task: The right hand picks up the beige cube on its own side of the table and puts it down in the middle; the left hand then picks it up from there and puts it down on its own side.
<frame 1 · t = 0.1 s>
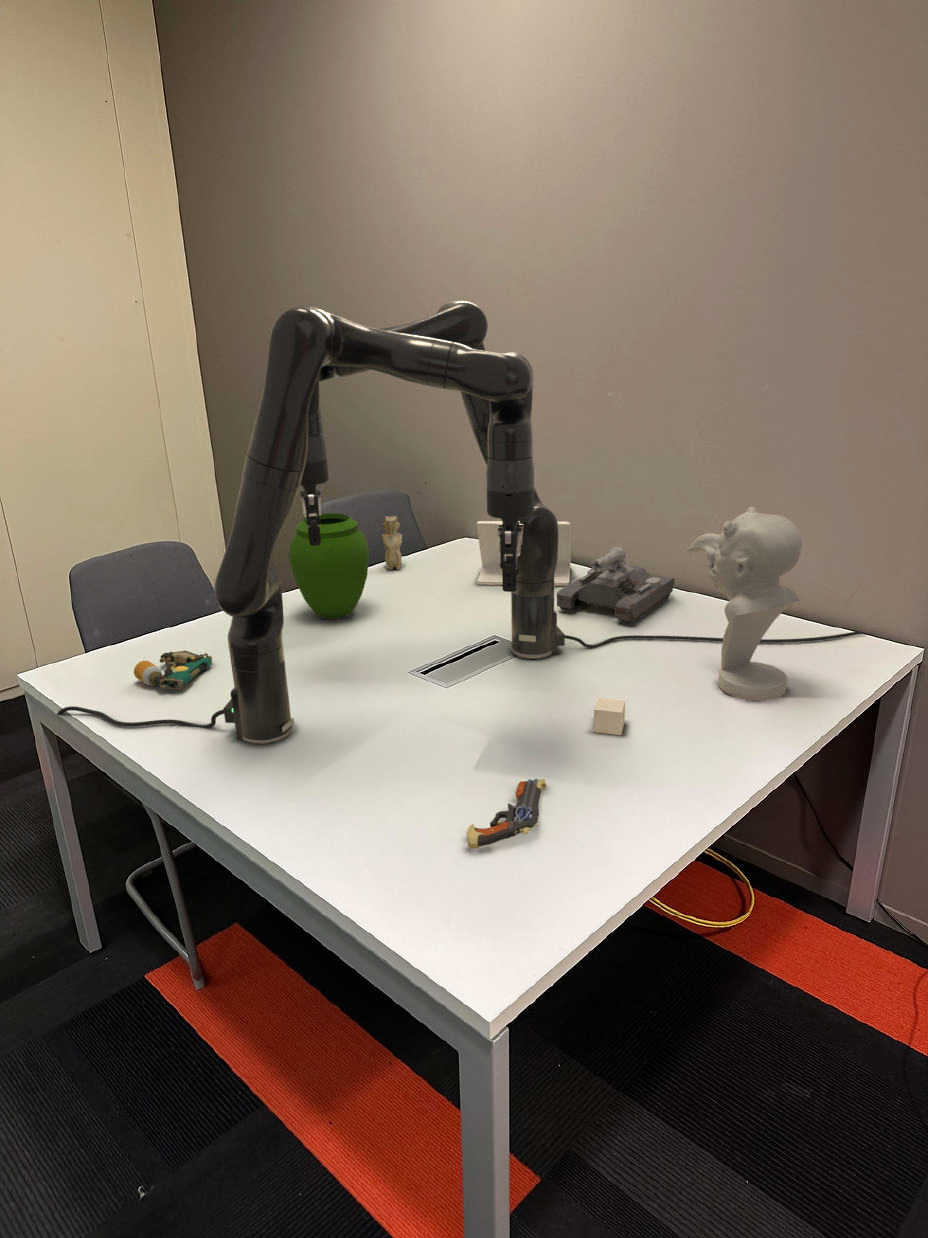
left hand: (511, 582, 141), 29 cm above the table, tool pointing down, fingers open, 8 cm apart
right hand: (314, 539, 170), 29 cm above the table, tool pointing down, fingers open, 8 cm apart
bust sculpture: (732, 683, 170), on the table
toy gun: (508, 818, 128), on the table
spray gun: (177, 676, 181), on the table
vase: (334, 614, 214), on the table
beige cube: (609, 727, 154), on the table
toy: (615, 605, 214), on the table
sculpture: (393, 567, 249), on the table
tablet stand: (525, 575, 239), on the table
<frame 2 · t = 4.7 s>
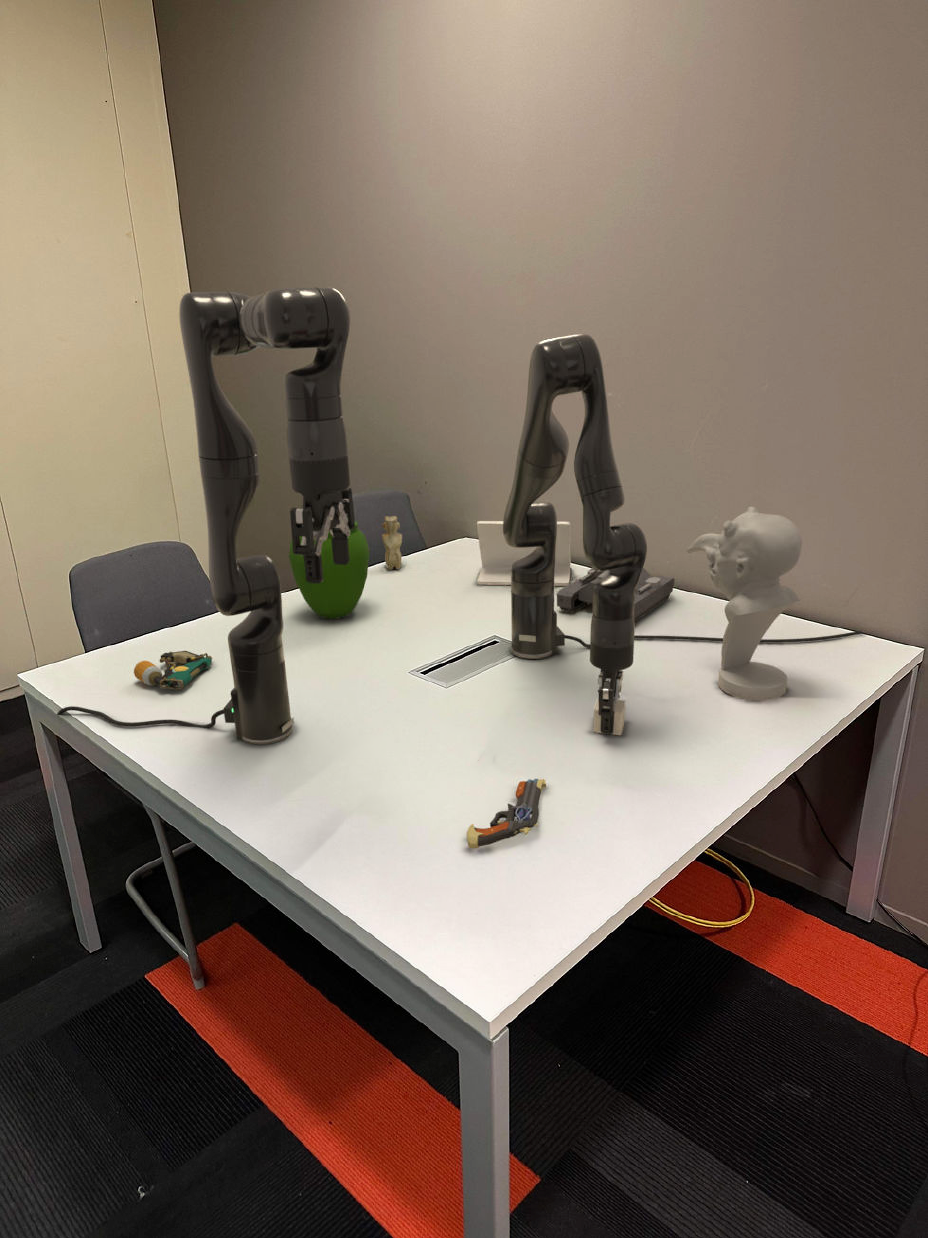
left hand: (328, 572, 116), 39 cm above the table, tool pointing down, fingers open, 8 cm apart
right hand: (609, 725, 154), 1 cm above the table, tool pointing down, fingers closed on beige cube, 5 cm apart
beige cube: (609, 727, 154), on the table, touching right hand
everything else where it was.
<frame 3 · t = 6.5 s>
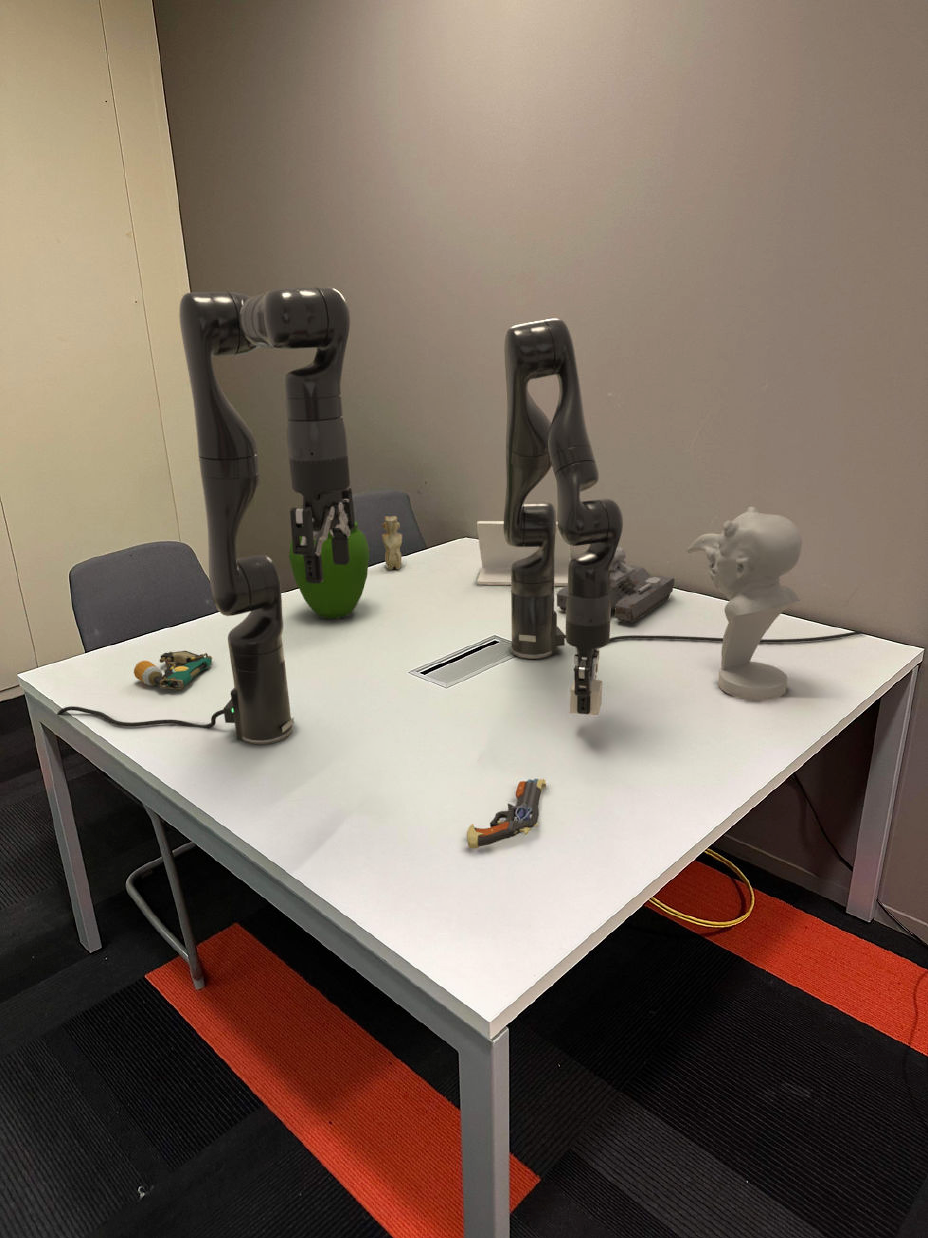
left hand: (328, 572, 116), 39 cm above the table, tool pointing down, fingers open, 8 cm apart
right hand: (585, 705, 151), 5 cm above the table, tool pointing down, fingers closed on beige cube, 5 cm apart
beige cube: (585, 708, 151), point 5 cm above the table, touching right hand
everything else where it was.
when the right hand's fingers open (2 cm above the table, at t = 8.6 s): beige cube drops 1 cm, on the table.
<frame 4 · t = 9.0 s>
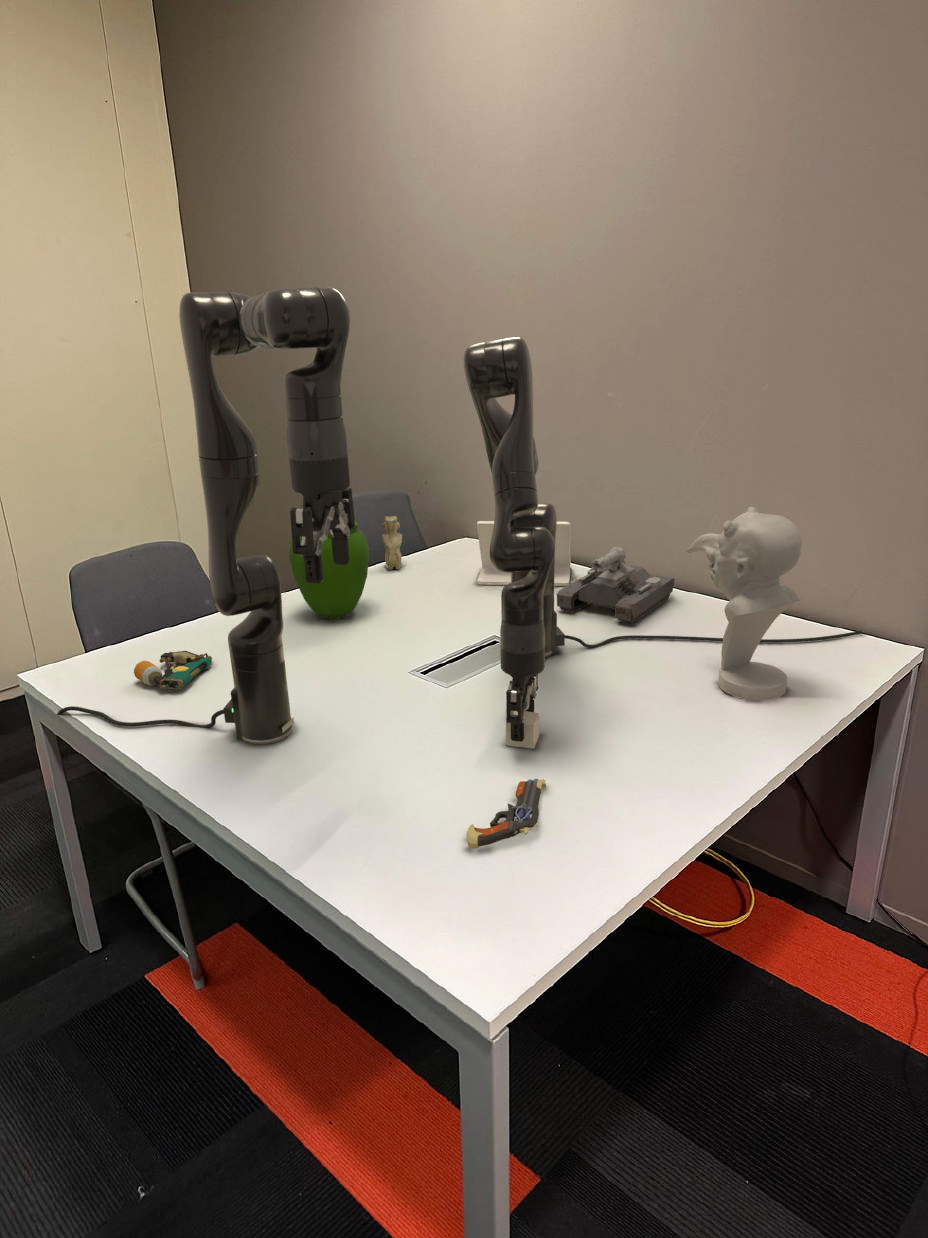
left hand: (328, 572, 116), 39 cm above the table, tool pointing down, fingers open, 8 cm apart
right hand: (522, 729, 150), 2 cm above the table, tool pointing down, fingers open, 8 cm apart
beige cube: (522, 740, 151), on the table
everything else where it was.
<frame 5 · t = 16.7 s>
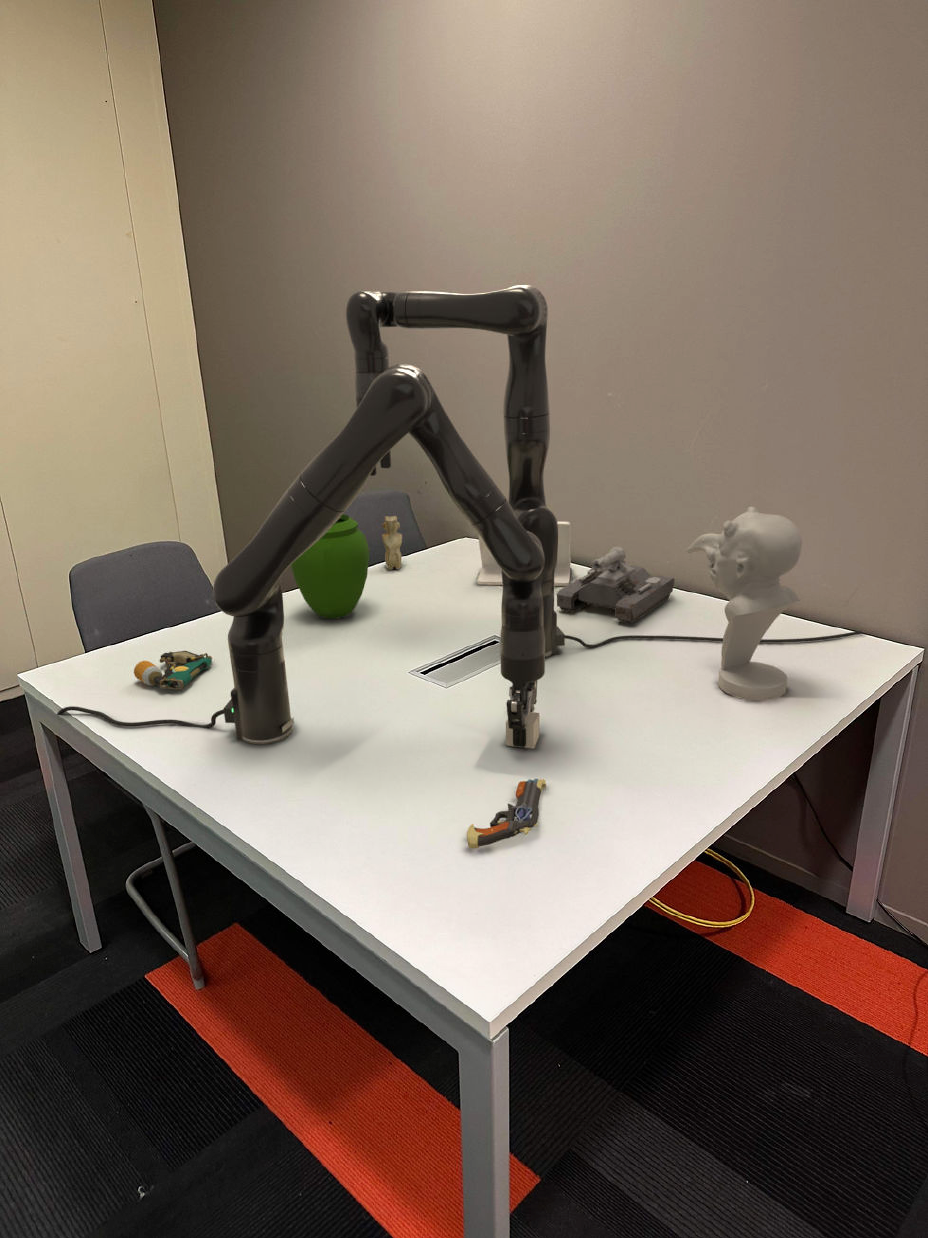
left hand: (523, 737, 150), 1 cm above the table, tool pointing down, fingers closed on beige cube, 5 cm apart
right hand: (378, 471, 183), 39 cm above the table, tool pointing down, fingers open, 8 cm apart
beige cube: (522, 740, 151), on the table, touching left hand
everything else where it was.
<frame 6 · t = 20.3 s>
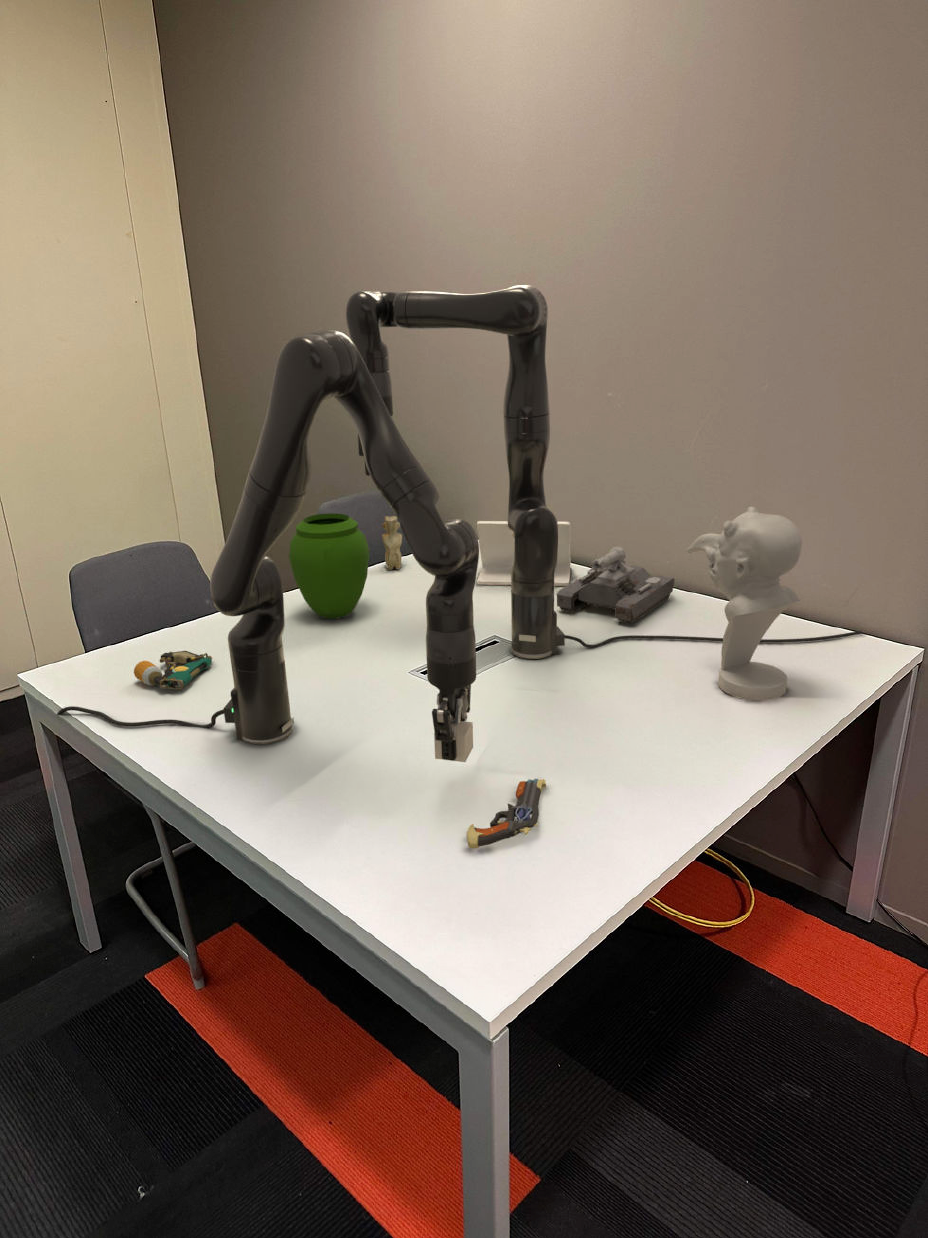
left hand: (454, 750, 135), 6 cm above the table, tool pointing down, fingers closed on beige cube, 5 cm apart
right hand: (378, 471, 183), 39 cm above the table, tool pointing down, fingers open, 8 cm apart
beige cube: (454, 753, 136), point 6 cm above the table, touching left hand
everything else where it was.
when the left hand's fingers open (2 cm above the table, at t = 23.7 s): beige cube stays where it is, on the table.
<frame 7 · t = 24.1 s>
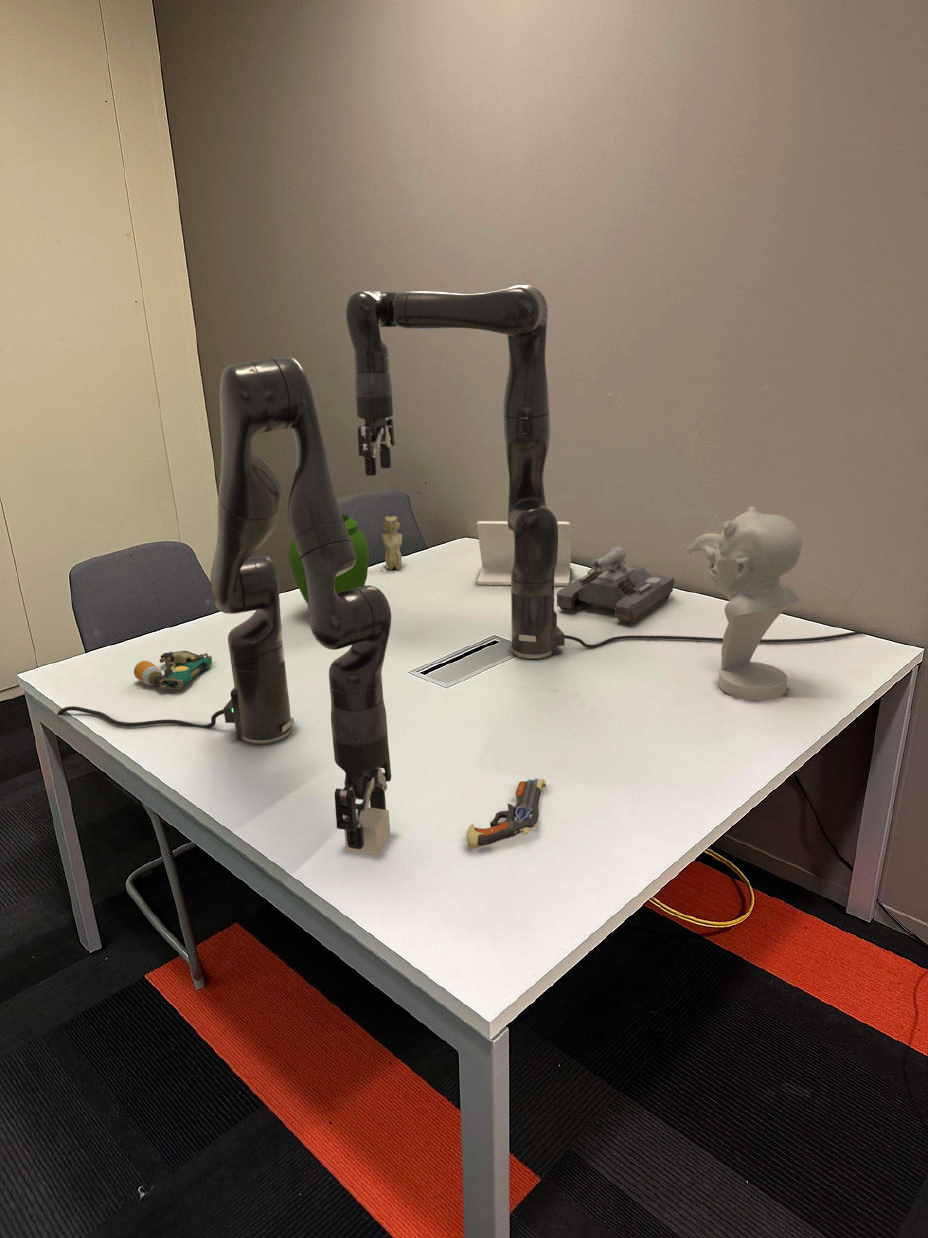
left hand: (367, 830, 122), 2 cm above the table, tool pointing down, fingers open, 8 cm apart
right hand: (378, 471, 183), 39 cm above the table, tool pointing down, fingers open, 8 cm apart
beige cube: (368, 844, 123), on the table
everything else where it was.
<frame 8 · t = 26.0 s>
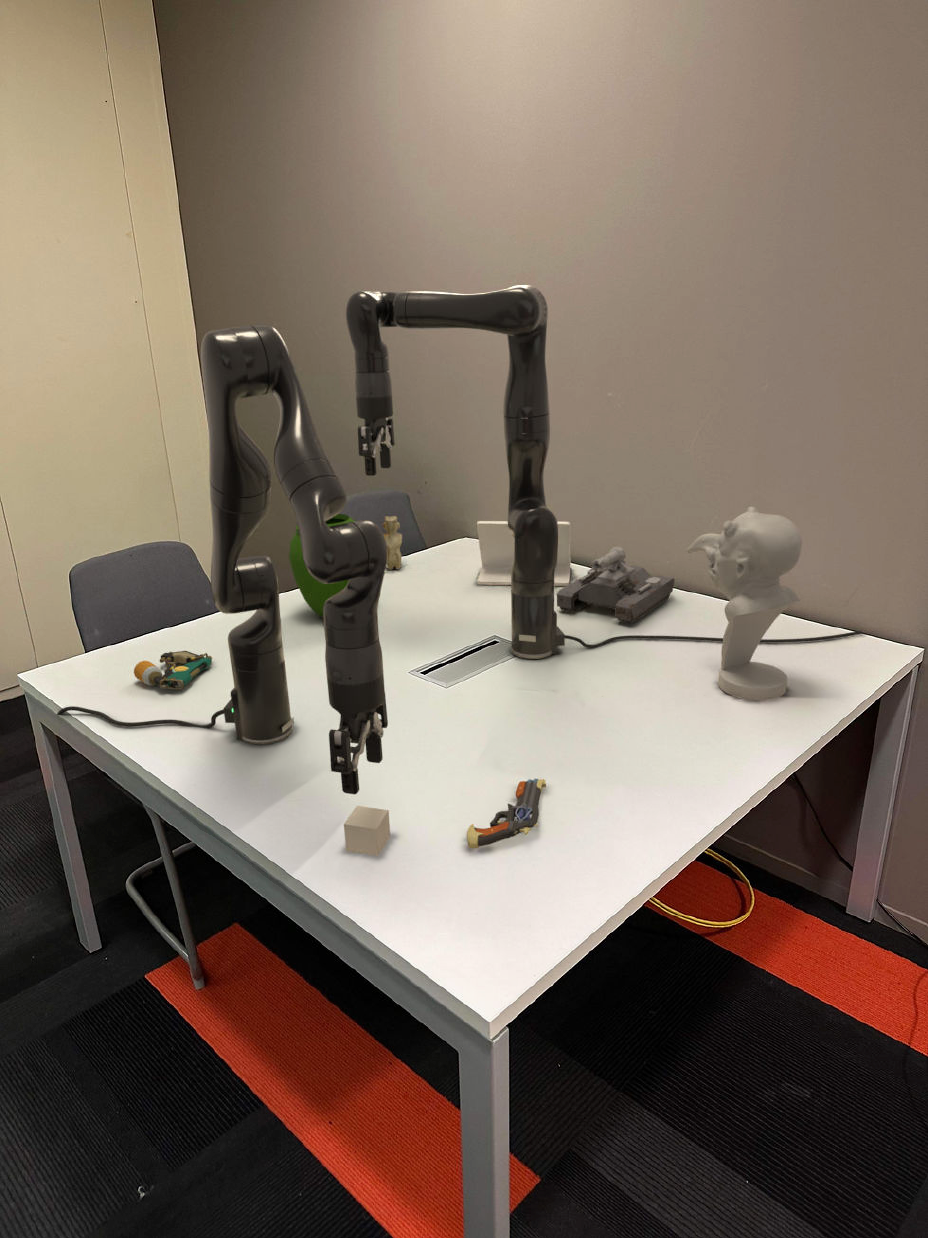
left hand: (363, 776, 119), 11 cm above the table, tool pointing down, fingers open, 8 cm apart
right hand: (378, 471, 183), 39 cm above the table, tool pointing down, fingers open, 8 cm apart
nothing on the table moved.
at the end: beige cube inside the target area (0.0 cm from its centre), on the table; beige cube tilted 0°; the two hands never held the beige cube at the same time; the left hand is holding nothing; the right hand is holding nothing; beige cube at rest at the end (0.0 cm/s) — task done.
